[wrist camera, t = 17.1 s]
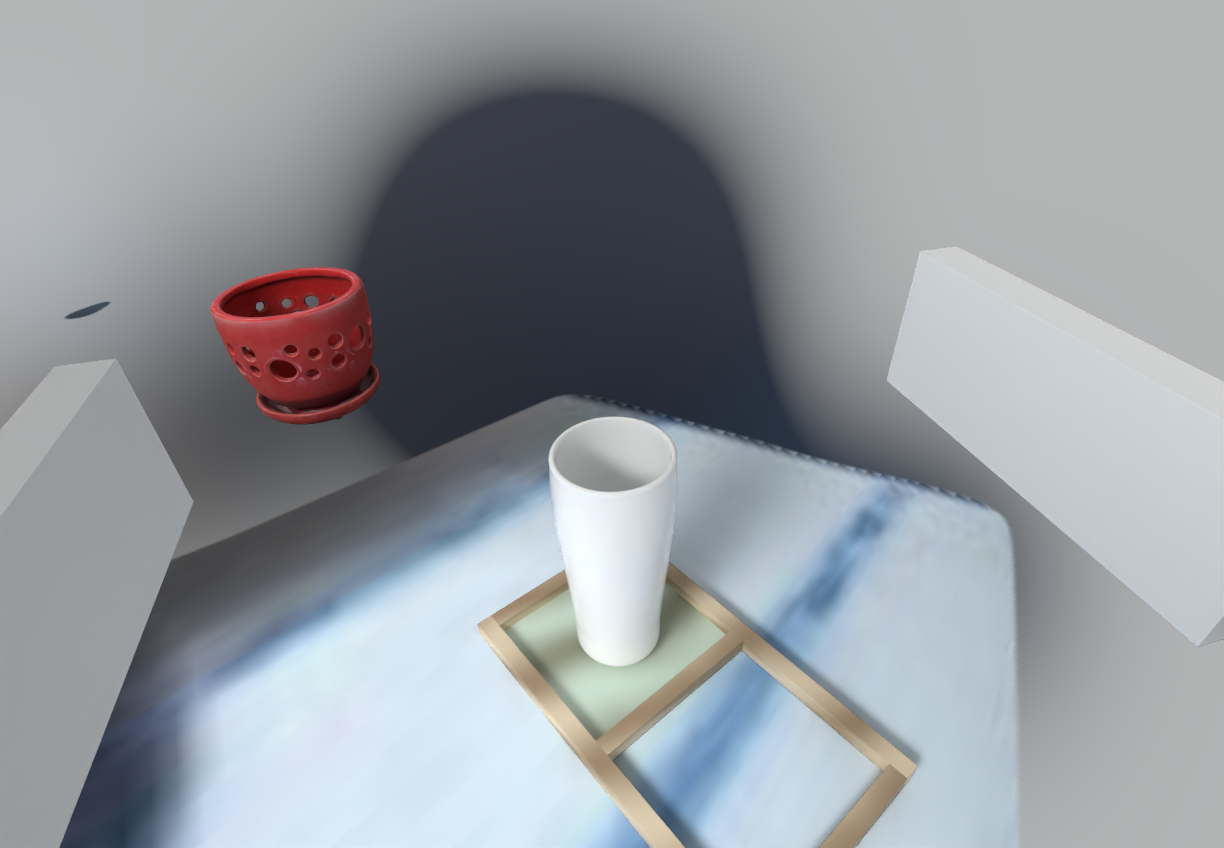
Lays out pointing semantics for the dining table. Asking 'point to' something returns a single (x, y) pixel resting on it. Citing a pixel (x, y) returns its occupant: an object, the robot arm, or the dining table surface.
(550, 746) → the dining table surface
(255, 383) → the plant pot
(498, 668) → the dining table surface
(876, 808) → the wooden window frame
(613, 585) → the drinking glass
